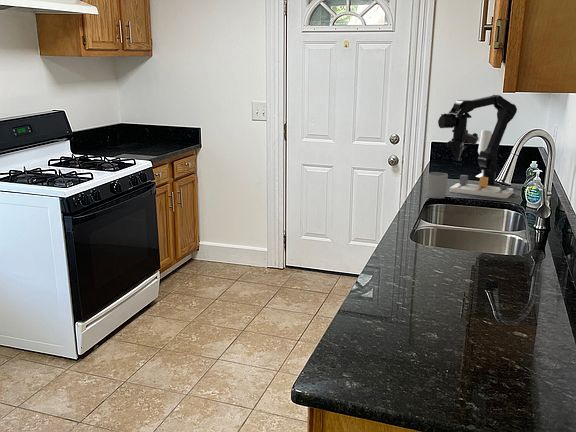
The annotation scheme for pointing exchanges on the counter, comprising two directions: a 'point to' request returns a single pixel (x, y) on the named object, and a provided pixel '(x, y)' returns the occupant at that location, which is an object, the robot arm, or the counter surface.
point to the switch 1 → (463, 179)
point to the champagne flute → (484, 143)
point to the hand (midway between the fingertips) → (457, 160)
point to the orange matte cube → (483, 181)
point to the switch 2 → (503, 187)
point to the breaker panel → (481, 190)
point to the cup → (437, 185)
